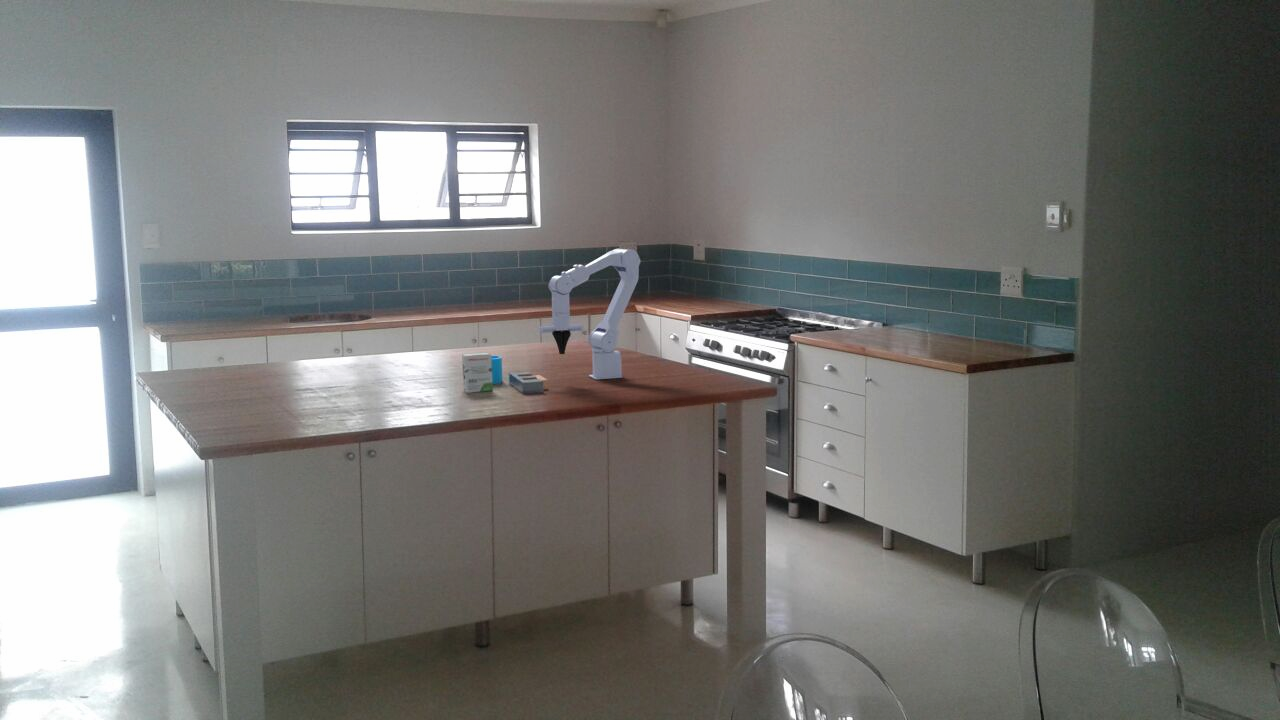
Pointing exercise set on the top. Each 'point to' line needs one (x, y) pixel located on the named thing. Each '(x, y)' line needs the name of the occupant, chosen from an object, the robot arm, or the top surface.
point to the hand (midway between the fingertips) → (561, 353)
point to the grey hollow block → (525, 382)
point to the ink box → (477, 372)
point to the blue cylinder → (496, 369)
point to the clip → (542, 380)
